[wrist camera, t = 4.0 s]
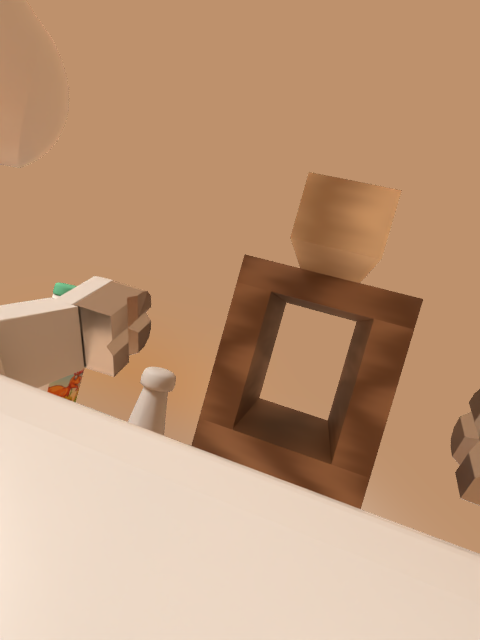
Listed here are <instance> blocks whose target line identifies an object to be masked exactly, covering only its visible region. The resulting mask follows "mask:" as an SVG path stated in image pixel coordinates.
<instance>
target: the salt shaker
mask: <svg viewBox="0 0 480 640" xmlns="http://www.w3.org/2000/svg"><path fill="white" fill-rule="evenodd" d="M175 381H176V376H175V375H174V373H172V372H171V371H169V370H166V369H163V368H159V367H148V368H146V369H145V370H144V372H143V374H142V377H141V384H142V385H143V386H144V388H143V390H142V392H141V394H140V396H139V399H138V401H137V403H136V405H135V407H134V410H133V412H132V414H131V416H130V419H129V421H128V422H129V423H132V424H134V425H137V426H139V427H142V428H145V429H147V430H150V431H153V432H155V433H158V434H161V435H164V429H165V417H166V405H167V395H168V392H170V391H172V390H173V388H174V386H175Z"/></svg>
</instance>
